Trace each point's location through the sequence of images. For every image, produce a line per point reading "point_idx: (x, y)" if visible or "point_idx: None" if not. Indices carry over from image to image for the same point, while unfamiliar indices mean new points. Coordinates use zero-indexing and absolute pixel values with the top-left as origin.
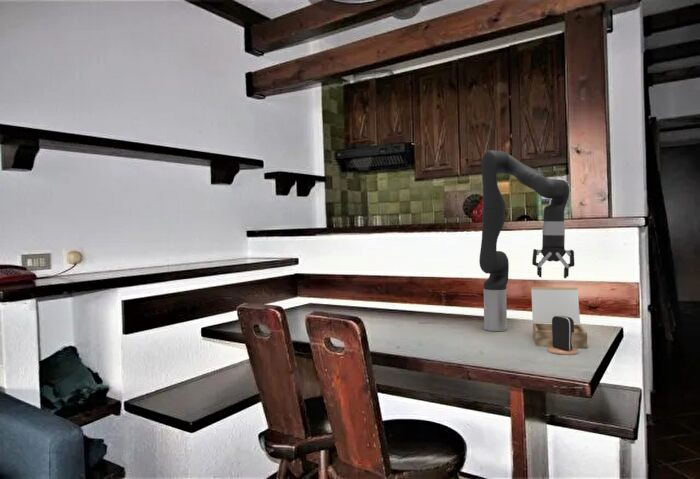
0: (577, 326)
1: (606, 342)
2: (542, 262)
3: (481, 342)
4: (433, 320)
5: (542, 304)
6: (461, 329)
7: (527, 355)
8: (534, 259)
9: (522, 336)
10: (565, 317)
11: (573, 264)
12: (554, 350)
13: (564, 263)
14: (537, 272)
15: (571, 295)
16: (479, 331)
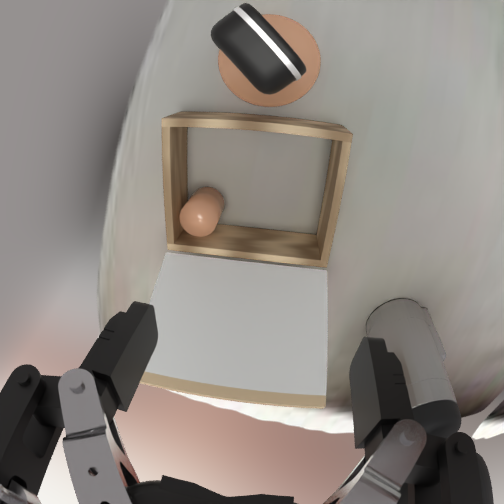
0: (178, 241)
1: (120, 194)
2: (380, 476)
3: (482, 174)
4: (475, 373)
5: (286, 329)
6: (469, 311)
7: (390, 12)
8: (467, 493)
9: (351, 249)
10: (248, 18)
11: (16, 379)
12: (300, 36)
13: (89, 424)
14: (404, 377)
15: (160, 351)
16: (442, 297)
